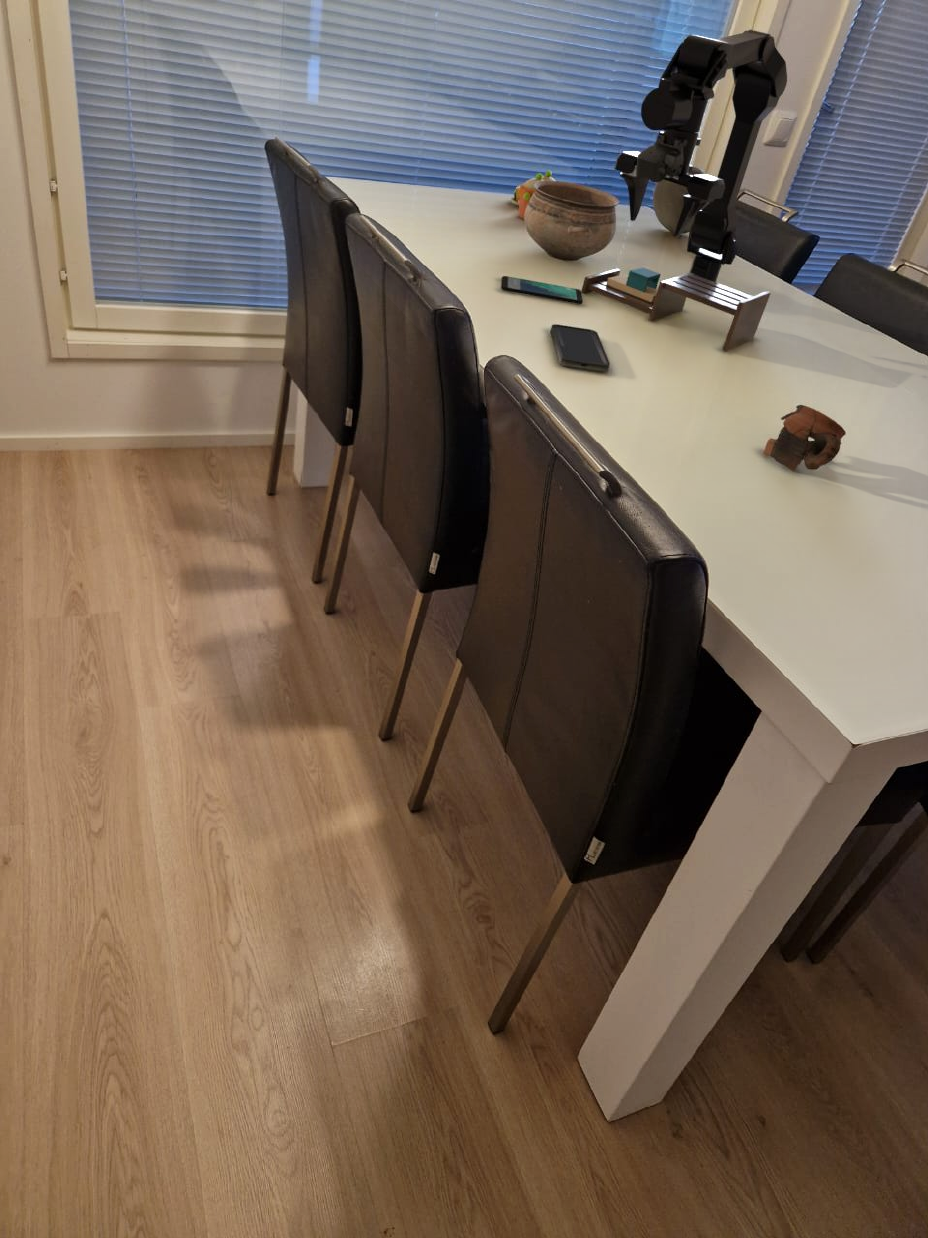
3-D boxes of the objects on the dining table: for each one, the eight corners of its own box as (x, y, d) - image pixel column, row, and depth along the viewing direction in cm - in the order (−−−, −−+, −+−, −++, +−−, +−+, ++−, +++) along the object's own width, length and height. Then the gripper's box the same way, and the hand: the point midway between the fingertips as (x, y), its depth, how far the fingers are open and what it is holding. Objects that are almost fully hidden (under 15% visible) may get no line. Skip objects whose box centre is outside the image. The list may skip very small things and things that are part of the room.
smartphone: (501, 274, 161) (580, 288, 162) (501, 278, 161) (579, 293, 162) (501, 286, 155) (583, 301, 156) (500, 290, 156) (582, 305, 157)
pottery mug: (745, 445, 122) (782, 393, 120) (789, 477, 126) (825, 428, 124) (794, 467, 111) (835, 411, 109) (841, 501, 115) (881, 448, 113)
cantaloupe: (707, 235, 216) (728, 170, 207) (687, 244, 206) (708, 175, 197) (656, 219, 221) (674, 154, 212) (634, 227, 211) (652, 159, 202)
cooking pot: (620, 281, 173) (637, 216, 166) (528, 269, 170) (542, 202, 162) (592, 243, 192) (606, 184, 185) (509, 231, 189) (520, 170, 181)
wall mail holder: (618, 280, 166) (624, 259, 164) (663, 298, 162) (670, 277, 160) (605, 284, 163) (611, 263, 161) (651, 302, 159) (657, 280, 156)
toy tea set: (584, 232, 199) (595, 187, 193) (519, 223, 196) (528, 176, 190) (561, 202, 219) (570, 160, 213) (501, 193, 216) (509, 150, 210)
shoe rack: (613, 283, 171) (625, 238, 166) (753, 339, 158) (771, 292, 153) (580, 292, 163) (592, 246, 158) (725, 351, 150) (743, 303, 145)
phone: (596, 330, 144) (611, 365, 133) (594, 336, 145) (609, 372, 133) (550, 323, 143) (560, 358, 132) (548, 329, 144) (559, 365, 132)
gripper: (609, 114, 141) (585, 216, 151) (707, 144, 133) (676, 250, 142) (645, 114, 148) (620, 211, 158) (740, 142, 140) (708, 243, 150)
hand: (654, 228), depth 152 cm, fingers open, 9 cm apart
